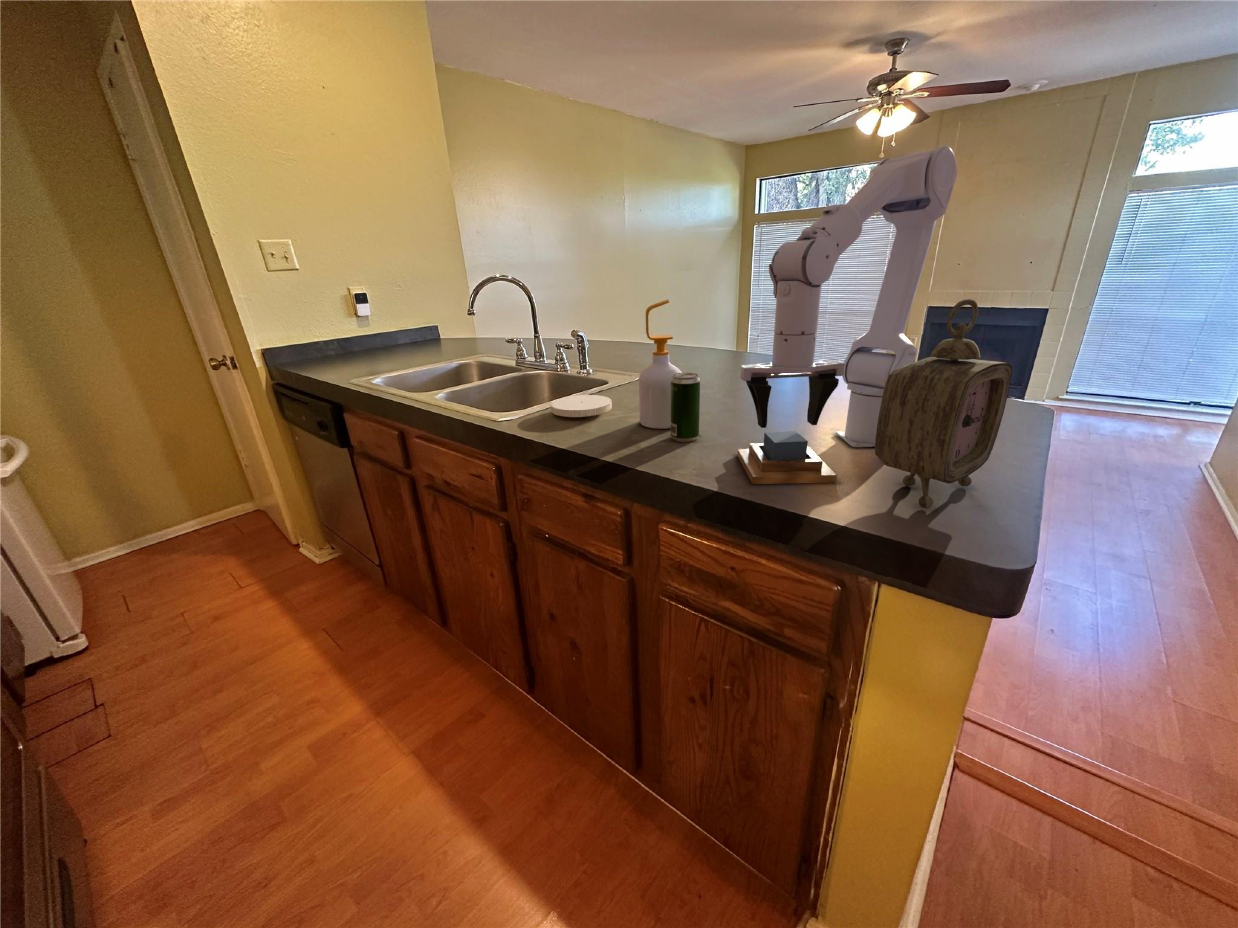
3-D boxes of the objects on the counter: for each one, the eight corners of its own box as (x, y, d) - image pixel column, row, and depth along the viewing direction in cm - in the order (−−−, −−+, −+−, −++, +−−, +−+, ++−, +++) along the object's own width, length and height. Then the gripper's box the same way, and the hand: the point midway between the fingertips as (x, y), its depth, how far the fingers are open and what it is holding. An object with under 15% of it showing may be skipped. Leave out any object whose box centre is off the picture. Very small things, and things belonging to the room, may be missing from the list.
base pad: (808, 453, 80) (810, 438, 79) (835, 482, 69) (838, 465, 68) (737, 455, 81) (737, 440, 80) (752, 484, 70) (753, 467, 69)
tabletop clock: (931, 517, 59) (979, 304, 49) (861, 493, 66) (892, 302, 56) (984, 487, 66) (1034, 296, 57) (915, 468, 73) (950, 295, 64)
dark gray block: (793, 454, 77) (795, 430, 76) (805, 466, 72) (808, 441, 71) (762, 455, 77) (764, 432, 76) (772, 467, 72) (774, 442, 71)
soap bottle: (685, 428, 96) (687, 300, 87) (640, 430, 96) (637, 302, 87) (680, 416, 104) (681, 298, 95) (639, 418, 105) (636, 300, 96)
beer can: (683, 444, 87) (683, 379, 83) (664, 437, 92) (664, 375, 87) (705, 438, 90) (706, 375, 86) (686, 431, 94) (686, 371, 90)
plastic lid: (569, 403, 119) (568, 393, 118) (621, 407, 114) (620, 396, 113) (540, 419, 107) (539, 408, 106) (596, 423, 102) (595, 412, 101)
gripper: (833, 327, 71) (823, 415, 76) (737, 332, 71) (733, 419, 76) (856, 332, 65) (843, 428, 70) (750, 338, 65) (744, 433, 70)
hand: (786, 424), depth 73 cm, fingers open, 7 cm apart
